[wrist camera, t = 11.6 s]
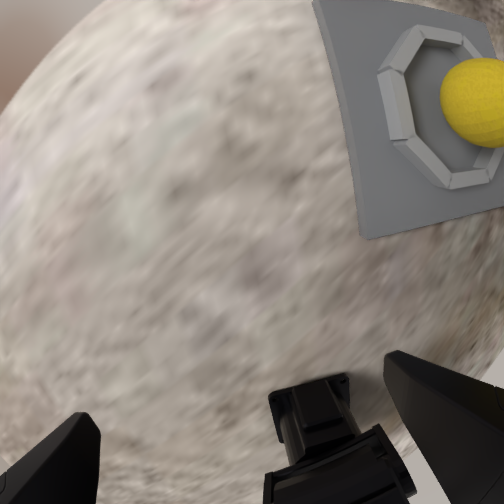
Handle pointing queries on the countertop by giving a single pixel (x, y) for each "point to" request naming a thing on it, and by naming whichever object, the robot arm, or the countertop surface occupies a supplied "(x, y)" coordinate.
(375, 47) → the ring plate
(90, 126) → the countertop surface
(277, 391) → the robot arm
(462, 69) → the lemon
